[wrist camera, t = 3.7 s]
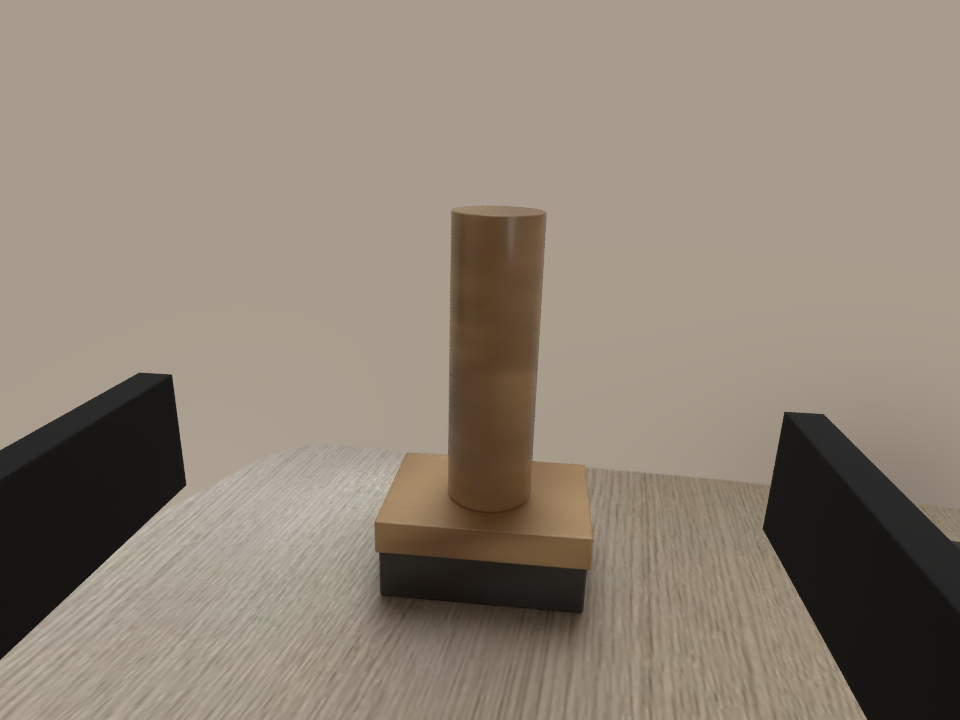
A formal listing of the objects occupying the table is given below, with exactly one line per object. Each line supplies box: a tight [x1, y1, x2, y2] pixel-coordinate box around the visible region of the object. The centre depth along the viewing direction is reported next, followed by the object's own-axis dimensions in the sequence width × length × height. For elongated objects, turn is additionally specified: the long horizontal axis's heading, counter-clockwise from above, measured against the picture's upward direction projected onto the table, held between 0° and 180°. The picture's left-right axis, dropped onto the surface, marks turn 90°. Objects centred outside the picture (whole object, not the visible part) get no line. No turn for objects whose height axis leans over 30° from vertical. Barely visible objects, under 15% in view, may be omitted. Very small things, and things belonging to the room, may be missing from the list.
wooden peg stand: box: [375, 206, 593, 612], centre depth 23 cm, size 7×5×13 cm
